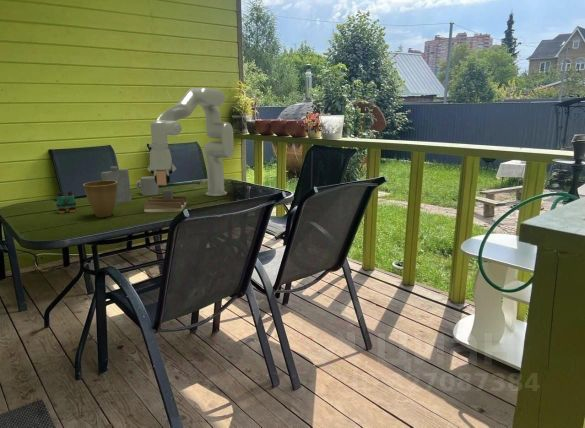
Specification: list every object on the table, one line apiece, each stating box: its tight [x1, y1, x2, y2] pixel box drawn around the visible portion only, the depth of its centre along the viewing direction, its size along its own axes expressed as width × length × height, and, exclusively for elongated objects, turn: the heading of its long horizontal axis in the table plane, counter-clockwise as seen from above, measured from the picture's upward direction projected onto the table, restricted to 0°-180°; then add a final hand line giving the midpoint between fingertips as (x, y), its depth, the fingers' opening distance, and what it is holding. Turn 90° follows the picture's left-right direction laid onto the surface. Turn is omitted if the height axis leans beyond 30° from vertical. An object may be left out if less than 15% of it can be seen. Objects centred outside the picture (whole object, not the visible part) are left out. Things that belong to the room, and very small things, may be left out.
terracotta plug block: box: [156, 170, 168, 186], centre depth 219 cm, size 4×4×7 cm
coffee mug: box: [135, 175, 160, 196], centre depth 264 cm, size 13×10×10 cm
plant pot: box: [82, 180, 117, 218], centre depth 209 cm, size 15×15×16 cm
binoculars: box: [56, 190, 77, 214], centre depth 220 cm, size 9×11×10 cm
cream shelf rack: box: [143, 195, 188, 213], centre depth 226 cm, size 18×18×4 cm
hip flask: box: [100, 165, 132, 205], centre depth 238 cm, size 16×4×20 cm, turn 146°
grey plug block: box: [161, 189, 174, 199], centre depth 229 cm, size 4×4×7 cm
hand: (162, 183), depth 219 cm, fingers closed on terracotta plug block, 4 cm apart
